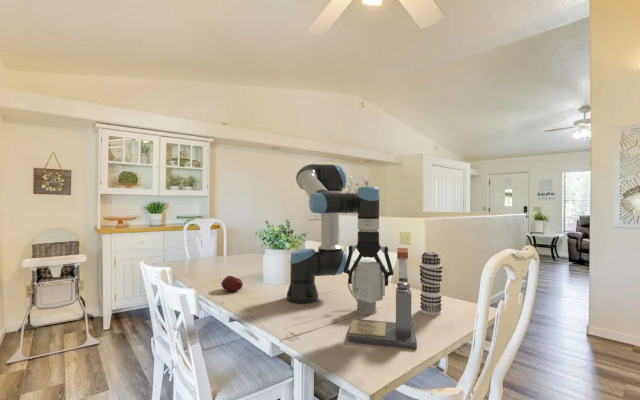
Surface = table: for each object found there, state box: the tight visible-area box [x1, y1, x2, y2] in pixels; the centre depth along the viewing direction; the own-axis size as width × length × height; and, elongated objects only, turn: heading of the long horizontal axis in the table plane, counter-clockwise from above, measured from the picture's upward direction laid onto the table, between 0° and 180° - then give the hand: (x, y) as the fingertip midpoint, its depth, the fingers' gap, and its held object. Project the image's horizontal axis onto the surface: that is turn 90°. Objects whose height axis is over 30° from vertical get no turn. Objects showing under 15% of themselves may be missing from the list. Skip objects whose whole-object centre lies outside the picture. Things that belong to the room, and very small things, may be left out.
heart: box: [221, 275, 244, 293], centre depth 168 cm, size 12×8×10 cm
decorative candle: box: [418, 251, 443, 316], centre depth 137 cm, size 9×9×25 cm
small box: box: [353, 259, 384, 303], centre depth 114 cm, size 8×6×13 cm
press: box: [347, 287, 418, 350], centre depth 112 cm, size 22×16×16 cm
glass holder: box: [347, 277, 378, 316], centre depth 139 cm, size 9×14×15 cm, turn 47°
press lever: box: [396, 247, 411, 290], centre depth 119 cm, size 4×22×3 cm, turn 167°
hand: (368, 294), depth 114 cm, fingers closed on small box, 10 cm apart
